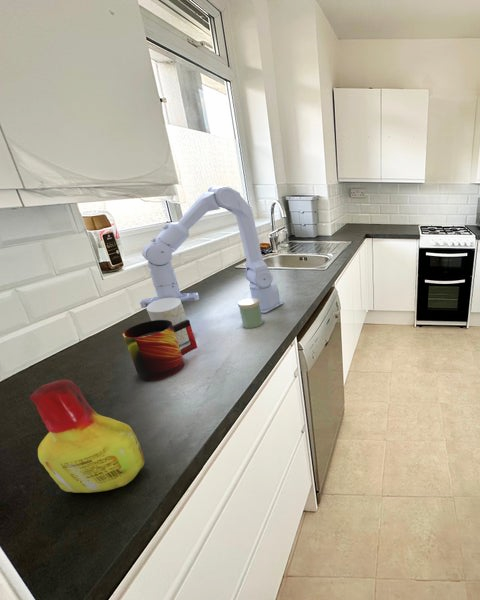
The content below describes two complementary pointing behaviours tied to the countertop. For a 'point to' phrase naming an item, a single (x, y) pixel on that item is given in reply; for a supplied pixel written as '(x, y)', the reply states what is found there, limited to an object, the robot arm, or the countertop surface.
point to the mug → (157, 348)
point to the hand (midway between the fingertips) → (177, 324)
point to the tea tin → (250, 312)
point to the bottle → (84, 442)
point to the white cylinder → (169, 314)
